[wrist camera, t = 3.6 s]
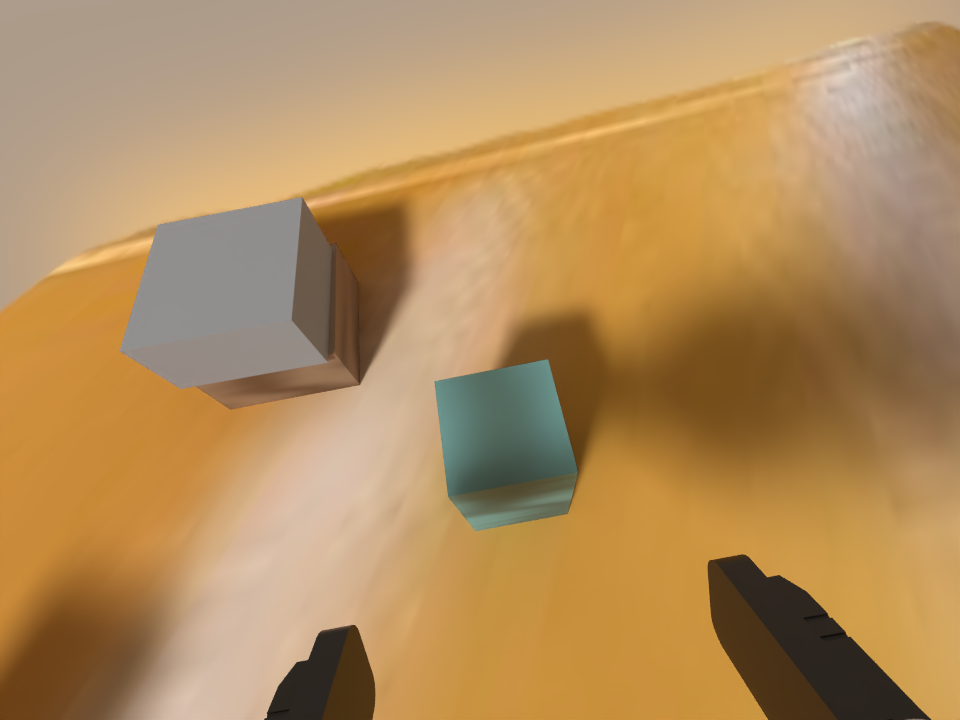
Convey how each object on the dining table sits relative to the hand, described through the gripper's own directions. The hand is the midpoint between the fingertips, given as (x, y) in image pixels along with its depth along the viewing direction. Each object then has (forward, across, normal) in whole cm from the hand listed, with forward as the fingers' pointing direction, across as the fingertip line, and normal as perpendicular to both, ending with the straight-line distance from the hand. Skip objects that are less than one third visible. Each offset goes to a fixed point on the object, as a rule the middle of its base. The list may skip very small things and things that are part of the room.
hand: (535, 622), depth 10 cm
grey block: (+18, +12, -7) cm, 22 cm away
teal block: (+13, 0, +4) cm, 13 cm away
